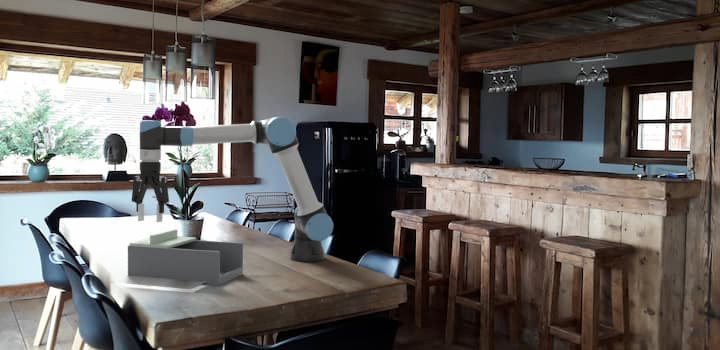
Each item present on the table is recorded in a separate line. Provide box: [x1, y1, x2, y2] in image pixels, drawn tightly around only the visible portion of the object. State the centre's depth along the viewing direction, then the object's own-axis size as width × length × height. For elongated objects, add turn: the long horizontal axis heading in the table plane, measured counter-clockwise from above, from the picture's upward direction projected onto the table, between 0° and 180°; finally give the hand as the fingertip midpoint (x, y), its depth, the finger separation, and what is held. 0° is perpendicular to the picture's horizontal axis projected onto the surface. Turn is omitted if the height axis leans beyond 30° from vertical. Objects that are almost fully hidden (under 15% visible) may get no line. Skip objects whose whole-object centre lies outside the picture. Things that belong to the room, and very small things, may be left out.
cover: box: [129, 229, 197, 249], centre depth 223 cm, size 16×20×4 cm
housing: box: [127, 239, 244, 287], centre depth 221 cm, size 37×20×12 cm, turn 76°
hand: (150, 221), depth 224 cm, fingers open, 7 cm apart
